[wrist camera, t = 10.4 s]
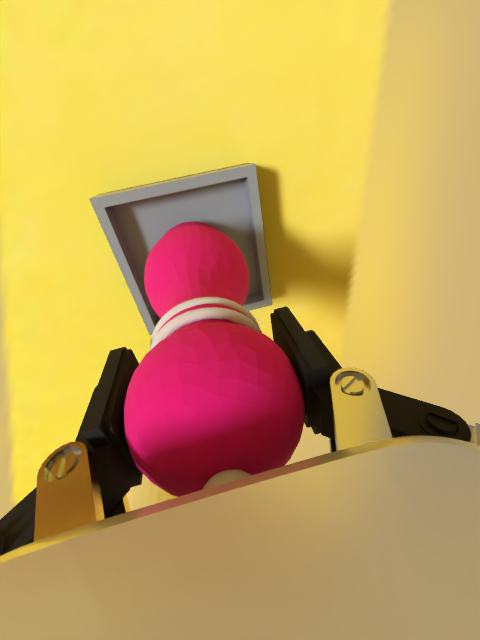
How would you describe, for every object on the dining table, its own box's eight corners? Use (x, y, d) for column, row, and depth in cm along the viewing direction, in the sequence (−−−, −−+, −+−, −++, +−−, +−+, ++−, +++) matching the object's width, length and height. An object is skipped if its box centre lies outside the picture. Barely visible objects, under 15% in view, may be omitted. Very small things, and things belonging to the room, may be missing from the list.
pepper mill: (139, 282, 23) (27, 636, 6) (166, 197, 20) (91, 425, 3) (217, 307, 25) (291, 600, 9) (251, 236, 22) (459, 469, 6)
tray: (265, 293, 28) (272, 304, 25) (152, 321, 27) (149, 335, 25) (248, 163, 21) (255, 163, 19) (98, 194, 20) (89, 198, 18)
